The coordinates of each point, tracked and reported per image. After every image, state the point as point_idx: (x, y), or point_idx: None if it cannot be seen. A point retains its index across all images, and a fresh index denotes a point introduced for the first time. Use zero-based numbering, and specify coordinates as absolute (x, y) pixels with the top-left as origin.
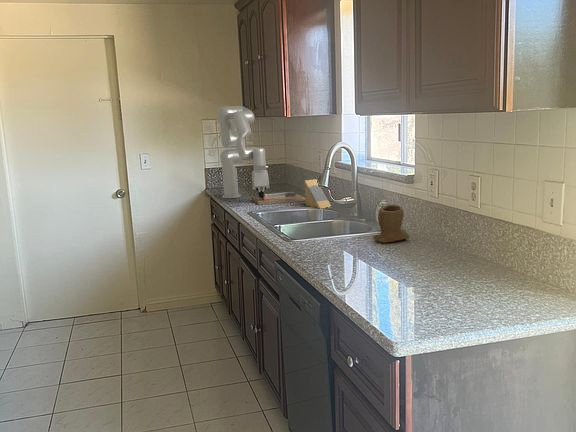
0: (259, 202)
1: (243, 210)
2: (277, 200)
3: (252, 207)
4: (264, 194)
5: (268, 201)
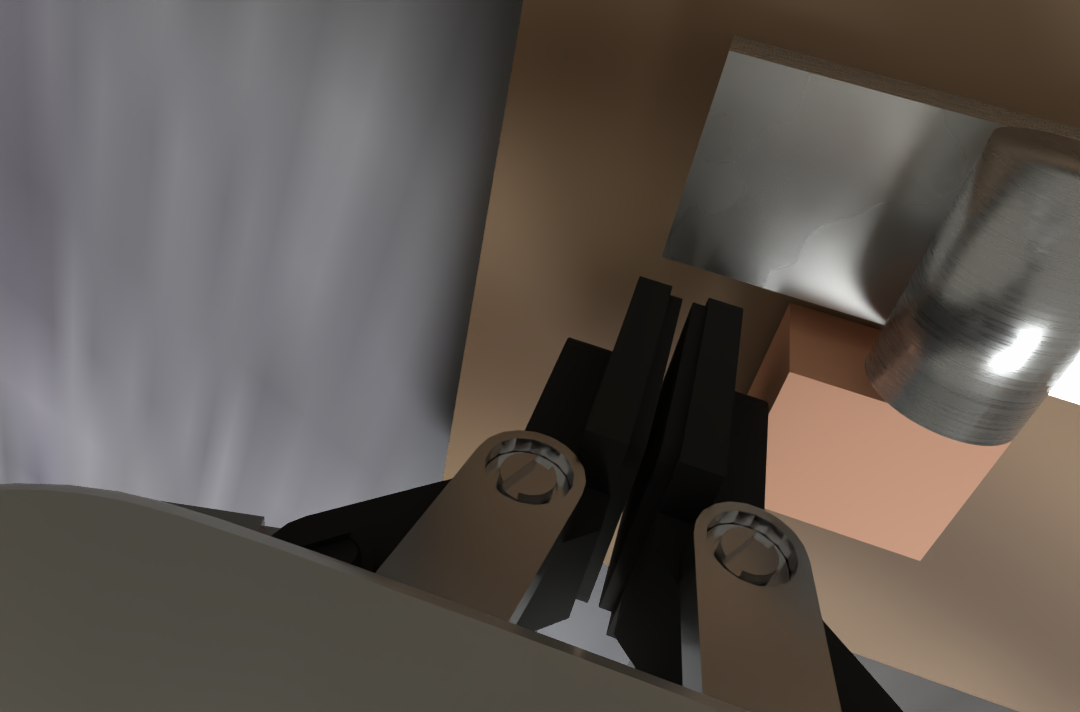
0: None
1: None
2: (974, 686)
3: None
4: (920, 342)
5: None
